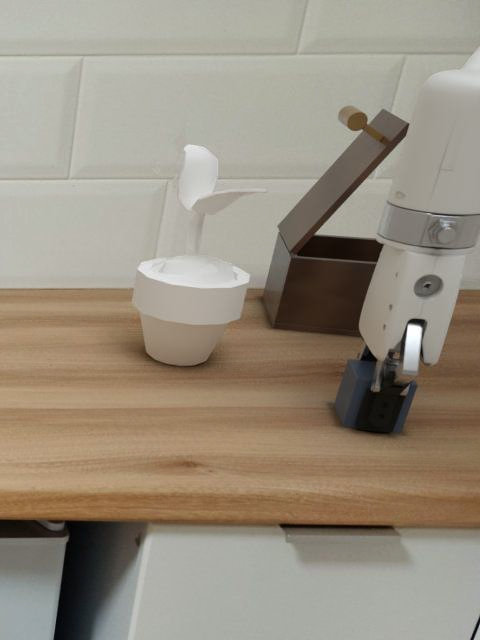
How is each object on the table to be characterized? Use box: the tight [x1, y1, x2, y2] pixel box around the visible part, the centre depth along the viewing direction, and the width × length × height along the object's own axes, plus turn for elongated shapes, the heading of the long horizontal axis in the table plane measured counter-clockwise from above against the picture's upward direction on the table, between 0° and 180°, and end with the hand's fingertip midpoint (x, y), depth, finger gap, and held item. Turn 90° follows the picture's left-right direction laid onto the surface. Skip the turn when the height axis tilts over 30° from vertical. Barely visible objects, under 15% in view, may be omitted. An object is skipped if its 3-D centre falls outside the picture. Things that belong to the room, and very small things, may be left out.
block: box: [333, 358, 419, 434], centre depth 85 cm, size 5×5×5 cm
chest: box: [262, 231, 384, 338], centre depth 109 cm, size 16×13×9 cm
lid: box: [276, 104, 410, 255], centre depth 104 cm, size 17×13×5 cm
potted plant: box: [131, 123, 269, 367], centre depth 93 cm, size 13×12×25 cm
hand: (367, 415), depth 86 cm, fingers closed on block, 5 cm apart
